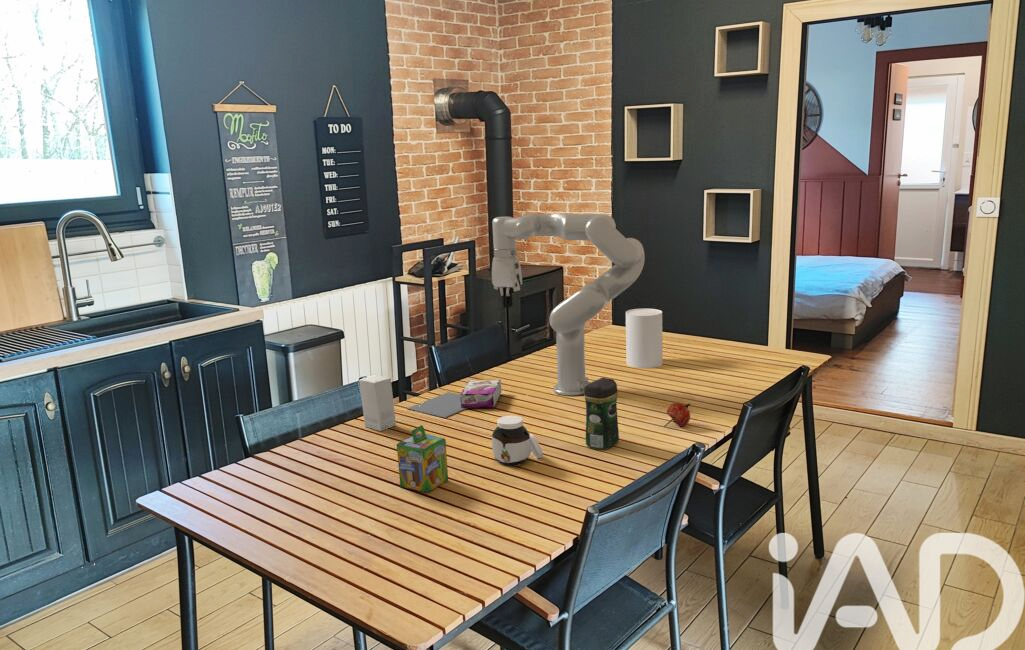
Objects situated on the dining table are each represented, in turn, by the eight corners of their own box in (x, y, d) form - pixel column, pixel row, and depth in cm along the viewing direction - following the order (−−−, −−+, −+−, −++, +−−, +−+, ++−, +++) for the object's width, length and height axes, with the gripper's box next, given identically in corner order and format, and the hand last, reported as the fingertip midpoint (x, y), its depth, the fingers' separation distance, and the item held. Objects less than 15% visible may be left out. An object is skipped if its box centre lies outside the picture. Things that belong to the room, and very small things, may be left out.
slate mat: (485, 401, 258) (485, 399, 258) (444, 418, 243) (444, 417, 243) (448, 393, 268) (448, 392, 268) (406, 409, 253) (406, 408, 253)
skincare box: (396, 426, 238) (392, 377, 234) (379, 432, 233) (375, 383, 230) (379, 420, 243) (375, 373, 240) (362, 426, 239) (358, 378, 235)
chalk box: (427, 494, 189) (423, 437, 186) (398, 487, 194) (393, 431, 191) (450, 480, 197) (446, 425, 193) (421, 473, 201) (417, 419, 198)
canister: (626, 358, 301) (625, 308, 297) (661, 358, 299) (661, 308, 295) (626, 368, 288) (625, 316, 284) (663, 368, 286) (663, 315, 282)
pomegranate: (673, 438, 223) (700, 417, 222) (657, 419, 223) (684, 397, 222) (669, 432, 231) (696, 411, 230) (654, 413, 230) (680, 392, 229)
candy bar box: (459, 393, 250) (468, 379, 266) (460, 408, 251) (469, 393, 267) (493, 393, 248) (501, 378, 264) (494, 407, 249) (501, 392, 265)
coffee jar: (598, 436, 222) (597, 374, 218) (623, 441, 217) (622, 377, 213) (580, 447, 214) (578, 383, 210) (605, 452, 209) (604, 387, 205)
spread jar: (488, 461, 207) (486, 420, 205) (517, 448, 215) (515, 408, 213) (521, 472, 199) (519, 429, 197) (549, 458, 207) (548, 417, 205)
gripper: (529, 253, 259) (531, 306, 263) (495, 251, 268) (497, 303, 272) (515, 256, 253) (518, 310, 257) (481, 254, 263) (484, 307, 267)
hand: (507, 306), depth 265 cm, fingers closed
